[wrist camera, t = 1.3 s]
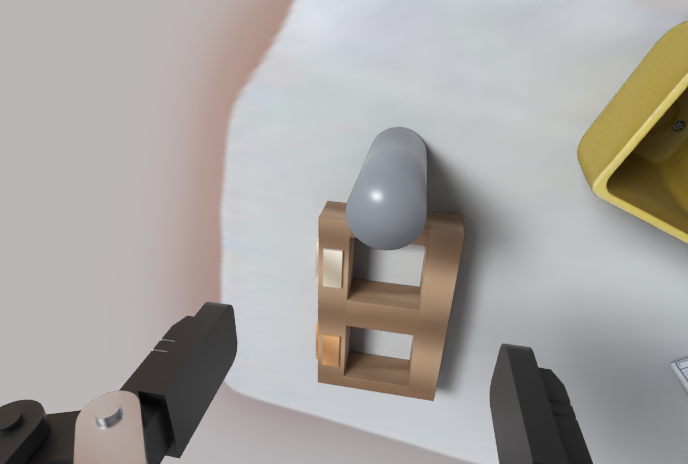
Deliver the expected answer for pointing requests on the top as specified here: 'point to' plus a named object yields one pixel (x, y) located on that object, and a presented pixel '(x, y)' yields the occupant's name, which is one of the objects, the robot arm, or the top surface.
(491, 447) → the top surface
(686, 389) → the medicine box
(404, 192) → the plug
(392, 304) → the socket block
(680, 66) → the flower pot
